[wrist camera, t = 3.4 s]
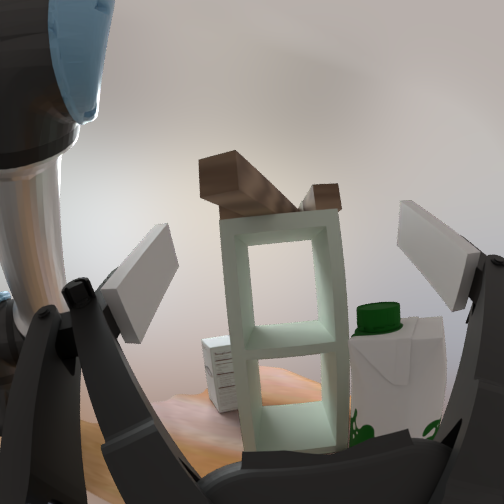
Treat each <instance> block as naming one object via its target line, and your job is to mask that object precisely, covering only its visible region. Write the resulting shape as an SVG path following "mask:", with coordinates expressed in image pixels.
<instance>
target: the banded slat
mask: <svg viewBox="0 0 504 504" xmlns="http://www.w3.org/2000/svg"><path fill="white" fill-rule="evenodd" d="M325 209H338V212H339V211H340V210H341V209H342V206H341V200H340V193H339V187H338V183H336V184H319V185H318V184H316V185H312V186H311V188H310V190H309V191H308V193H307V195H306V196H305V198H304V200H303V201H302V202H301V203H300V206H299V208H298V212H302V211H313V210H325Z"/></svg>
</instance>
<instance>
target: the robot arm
mask: <svg viewBox="0 0 504 504" xmlns="http://www.w3.org/2000/svg"><path fill="white" fill-rule="evenodd" d="M114 3H115V0H0V263H1V266H2V269H3V271H4V275H5V278H6V280H7V283H8V286H9V288H10V291H11V293H12V296H13V298H14V299H11V296H10V294H9V292H8V291H4V292H0V436H1V437H2V438H1V448H0V504H87V494H86V487H85V480H84V472H83V462H82V450H81V433H80V379H81V378H80V377H81V368H82V372H83V376H84V380H85V383H86V387H87V390H88V393H89V397H90V400H91V403H92V406H93V409H94V412H95V415H96V418H97V421H98V423H99V426H100V429H101V431H102V434H103V437H104V439H105V444H102V445H101V451H102V454H103V457H104V459H105V462H106V464H107V466H108V469H109V471H110V473H111V475H112V477H113V480H114V482H115V484H116V486H117V488H118V490H119V492H120V494H121V496H122V498H123V500H124V502H125V503H126V504H504V258H503V257H501V256H498V255H488V256H486V255H485V254H484V253H482V252H481V251H480V250H479V249H478V248H476V247H475V246H474V245H473V244H472V243H471V242H469V241H468V240H467V239H465V238H464V237H463V236H461V235H459V234H457V233H456V232H455V231H454V230H452V229H451V228H450V227H448V226H447V225H446V224H444V223H443V222H442V221H440V220H439V219H438V218H436V217H435V216H433V215H432V214H431V213H429V212H428V211H426V210H425V209H423V208H422V207H421V206H419V205H417V204H416V203H415V202H413V201H411V200H406V201H400V212H399V228H398V240H397V246H398V247H399V248H400V249H401V250H402V251H403V252H404V253H405V255H406V256H407V257H408V258H409V259H410V260H411V261H412V263H413V264H414V265H415V266H416V267H417V268H418V270H419V271H420V272H421V273H422V274H423V276H424V277H425V278H426V279H427V281H428V282H429V283H430V284H431V285H432V287H433V288H434V289H435V290H436V292H437V293H438V294H439V296H440V297H441V298H442V299H443V301H444V302H445V303H446V304H447V306H448V307H449V309H450V310H451V311H452V312H454V311H458V310H462V309H465V306H466V303H467V300H468V297H469V298H470V299H471V300H472V301H473V303H472V306H471V310H470V312H469V315H468V318H467V320H466V323H468V328H467V334H466V339H465V343H464V348H463V353H462V357H461V361H460V365H459V369H458V372H457V376H456V380H455V383H454V386H453V390H452V393H451V396H450V399H449V402H448V405H447V408H446V411H445V414H444V416H443V419H442V422H441V424H440V427H439V429H438V432H437V434H436V436H435V437H434V439H433V440H429V439H423V438H411V436H410V433H409V429H404V430H401V431H397V432H394V433H390V434H386V435H382V436H377V437H373V438H370V439H368V440H366V441H363V442H361V443H359V444H357V445H354V446H352V447H350V448H347V449H345V450H342V451H340V452H337V453H335V454H331V455H321V454H311V453H302V452H294V451H287V450H280V451H254V452H242V461H240V462H236V463H232V464H229V465H226V466H223V467H221V468H219V469H216V470H215V471H213V472H211V473H209V474H207V475H206V476H204V477H203V478H201V477H200V476H199V474H198V473H197V472H196V471H195V470H194V468H193V467H192V466H191V465H190V463H189V462H188V461H187V459H186V458H185V456H184V455H183V454H182V452H181V451H180V449H179V448H178V447H177V445H176V444H175V442H174V441H173V439H172V438H171V436H170V435H169V433H168V432H167V430H166V428H165V427H164V425H163V424H162V422H161V421H160V419H159V417H158V416H157V414H156V412H155V411H154V409H153V407H152V406H151V404H150V402H149V400H148V399H147V397H146V395H145V393H144V392H143V390H142V388H141V386H140V384H139V383H138V381H137V379H136V377H135V375H134V373H133V371H132V369H131V367H130V365H129V363H128V361H127V359H126V357H125V355H124V353H123V351H122V349H121V347H120V344H119V343H118V341H117V338H118V336H119V334H120V333H121V335H122V337H123V339H124V341H125V343H136V344H141V342H142V340H143V338H144V335H145V333H146V331H147V329H148V327H149V325H150V322H151V321H152V319H153V317H154V315H155V312H156V310H157V308H158V306H159V304H160V302H161V300H162V298H163V296H164V294H165V292H166V290H167V288H168V286H169V284H170V282H171V280H172V279H173V277H174V275H175V273H176V271H177V269H178V267H179V265H178V261H177V257H176V253H175V249H174V245H173V242H172V238H171V234H170V230H169V225H168V223H165V224H158V225H155V226H154V227H153V228H152V229H151V231H150V232H149V233H148V234H147V235H146V236H145V237H144V238H143V239H142V241H141V242H140V243H139V244H138V245H137V246H136V247H135V249H134V250H133V251H132V252H131V253H130V254H129V255H128V257H127V258H126V259H125V260H124V261H123V263H122V264H121V265H120V266H119V267H117V268H116V269H115V270H113V271H112V272H111V273H110V274H109V275H108V277H107V279H105V280H104V281H103V283H102V284H101V285H100V286H99V287H98V289H97V290H96V291H95V292H94V290H93V288H92V285H91V283H90V281H89V279H88V278H85V277H82V278H78V279H75V280H73V281H71V282H69V283H68V284H66V277H65V269H64V261H63V251H62V239H61V225H60V224H61V222H60V165H61V163H60V162H61V155H62V154H64V153H65V152H66V151H68V150H69V149H70V148H71V147H72V146H73V145H74V143H75V142H76V141H77V138H78V134H79V128H80V124H86V123H87V122H91V121H93V120H95V119H96V117H97V114H98V107H99V98H100V87H101V80H102V73H103V66H104V59H105V52H106V47H107V41H108V35H109V30H110V25H111V20H112V15H113V10H114Z"/></svg>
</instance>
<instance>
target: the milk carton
mask: <svg viewBox="0 0 504 504" xmlns="http://www.w3.org/2000/svg"><path fill="white" fill-rule="evenodd" d="M357 326H358V328H357V329H356V330H355V334H353V335H352V336H351V338H350V339H349V340H348V348H349V356H350V365H351V375H352V376H351V377H352V391H351V392H352V393H351V424H350V442H349V448H350V447H352V446H354V445H357V444H359V443H361V442H363V441H366V440H368V439H370V438H373V437H377V436H382V435H386V434H390V433H394V432H397V431H401V430H404V429H409V433H410V436H411V438H423V439H429V440H433V439H434V437H435V436H436V434H437V432H438V429H439V426H440V421H441V416H442V410H443V404H444V397H445V390H446V381H447V379H446V378H447V377H446V376H447V359H446V345H445V335H444V326H443V319H442V316H440V317H428V318H419V317H408V318H400V304H399V303H397V302H379V303H370V304H365V305H361V306H358V307H357Z"/></svg>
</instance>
